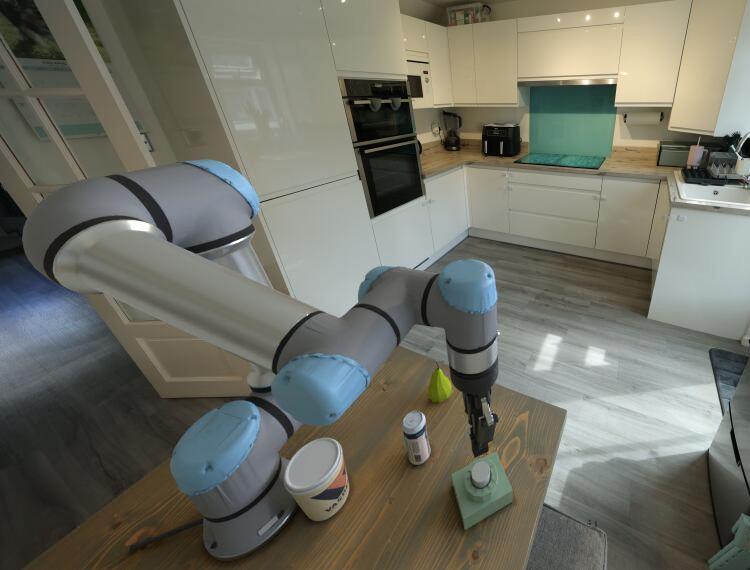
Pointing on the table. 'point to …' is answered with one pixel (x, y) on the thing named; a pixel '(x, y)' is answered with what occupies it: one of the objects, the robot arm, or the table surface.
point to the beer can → (416, 437)
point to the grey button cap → (480, 474)
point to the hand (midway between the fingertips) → (480, 450)
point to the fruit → (439, 386)
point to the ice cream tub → (318, 478)
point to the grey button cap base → (481, 491)
